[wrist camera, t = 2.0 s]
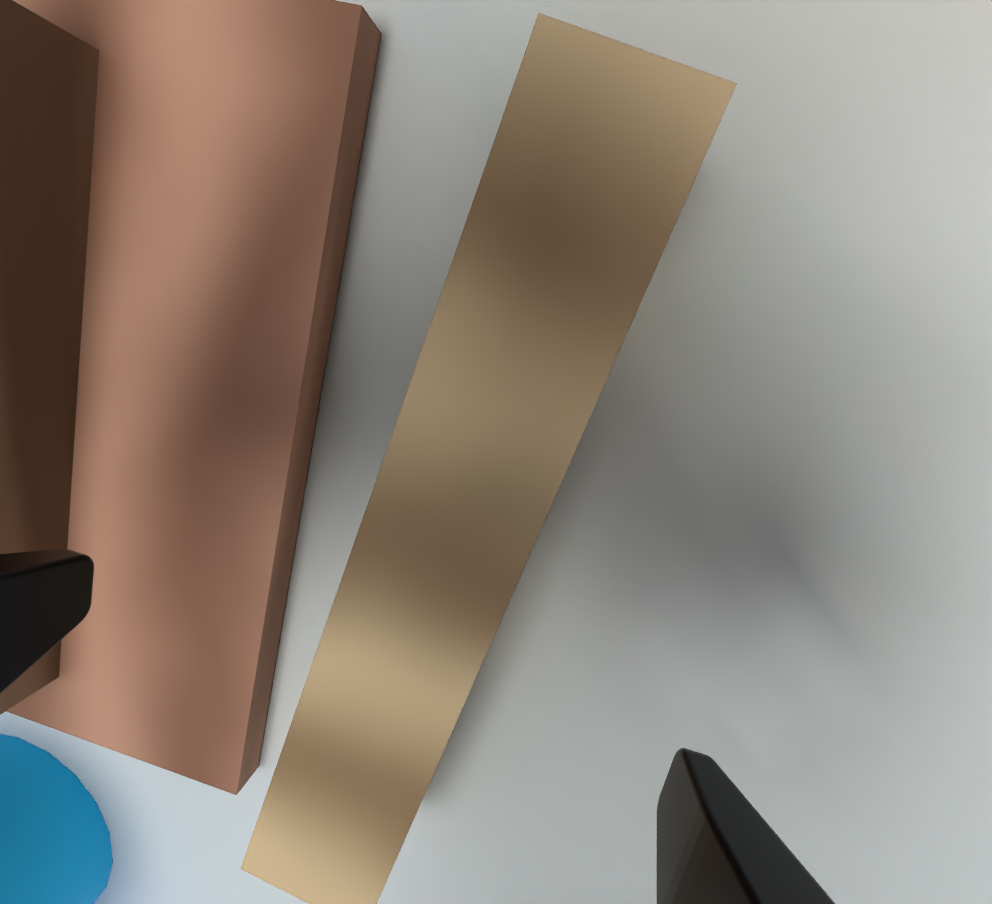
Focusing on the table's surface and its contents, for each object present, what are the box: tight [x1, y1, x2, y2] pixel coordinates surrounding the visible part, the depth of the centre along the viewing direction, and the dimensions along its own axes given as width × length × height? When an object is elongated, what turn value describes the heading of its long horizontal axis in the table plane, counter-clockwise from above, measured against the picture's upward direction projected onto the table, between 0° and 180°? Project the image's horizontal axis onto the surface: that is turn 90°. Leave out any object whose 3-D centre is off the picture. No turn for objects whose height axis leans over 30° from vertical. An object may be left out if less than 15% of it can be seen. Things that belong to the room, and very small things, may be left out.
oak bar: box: [241, 13, 737, 904], centre depth 14 cm, size 20×4×4 cm, turn 158°
